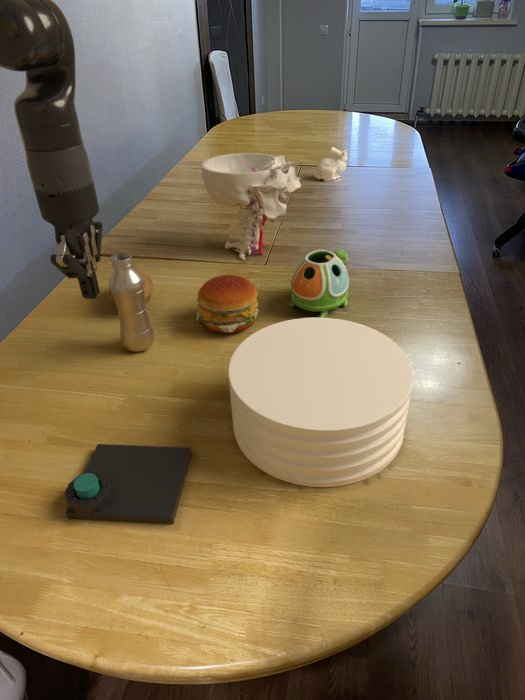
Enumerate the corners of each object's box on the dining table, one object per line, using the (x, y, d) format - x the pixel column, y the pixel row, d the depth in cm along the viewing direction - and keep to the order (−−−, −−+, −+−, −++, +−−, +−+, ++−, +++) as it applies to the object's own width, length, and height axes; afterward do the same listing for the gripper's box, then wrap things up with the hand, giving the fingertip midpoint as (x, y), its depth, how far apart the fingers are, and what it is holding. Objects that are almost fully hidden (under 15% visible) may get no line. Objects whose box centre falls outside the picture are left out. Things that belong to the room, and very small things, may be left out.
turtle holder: (366, 291, 121) (371, 243, 114) (327, 326, 109) (329, 275, 102) (320, 277, 127) (322, 232, 120) (278, 310, 115) (278, 261, 108)
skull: (207, 264, 135) (198, 176, 121) (211, 235, 150) (203, 154, 137) (303, 260, 135) (304, 171, 121) (297, 232, 150) (298, 150, 137)
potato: (154, 286, 126) (149, 256, 121) (157, 316, 115) (151, 284, 110) (113, 291, 124) (106, 261, 120) (112, 322, 113) (104, 290, 109)
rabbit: (344, 175, 191) (347, 141, 184) (349, 183, 184) (351, 148, 177) (312, 176, 191) (313, 143, 184) (315, 185, 184) (316, 150, 177)
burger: (262, 336, 107) (260, 294, 101) (196, 341, 106) (191, 299, 100) (257, 303, 118) (256, 263, 112) (198, 307, 117) (193, 267, 111)
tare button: (72, 498, 71) (69, 490, 70) (81, 480, 74) (78, 472, 73) (95, 500, 71) (92, 491, 70) (103, 481, 73) (100, 473, 72)
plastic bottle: (130, 336, 108) (111, 247, 97) (160, 339, 107) (145, 249, 96) (117, 353, 103) (95, 263, 92) (149, 357, 102) (131, 265, 90)
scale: (63, 519, 72) (57, 505, 70) (96, 449, 82) (91, 436, 80) (173, 525, 70) (170, 511, 69) (192, 453, 81) (189, 440, 79)
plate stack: (407, 498, 73) (419, 440, 66) (214, 475, 77) (207, 419, 70) (400, 375, 95) (408, 322, 88) (250, 363, 99) (248, 312, 93)
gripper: (57, 165, 73) (84, 275, 83) (10, 197, 62) (48, 318, 73) (108, 165, 72) (129, 276, 82) (69, 198, 62) (99, 320, 72)
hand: (91, 296), depth 77 cm, fingers closed
